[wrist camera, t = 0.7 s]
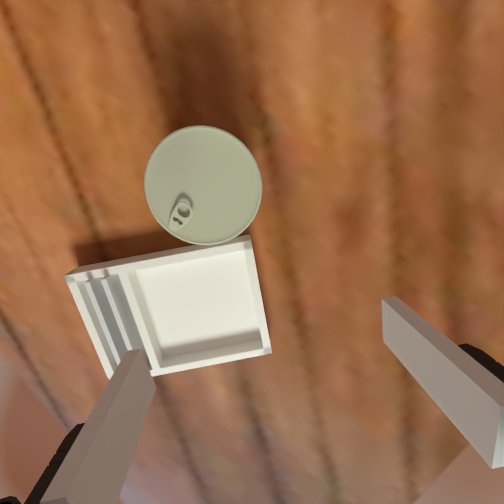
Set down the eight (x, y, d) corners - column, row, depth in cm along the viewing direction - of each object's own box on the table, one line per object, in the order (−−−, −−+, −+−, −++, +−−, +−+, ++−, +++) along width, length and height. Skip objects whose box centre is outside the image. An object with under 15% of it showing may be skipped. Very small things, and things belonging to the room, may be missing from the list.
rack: (78, 266, 33) (58, 279, 29) (249, 234, 34) (251, 242, 30) (119, 368, 38) (107, 390, 34) (269, 339, 38) (273, 358, 35)
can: (159, 186, 31) (115, 195, 20) (208, 122, 29) (191, 92, 18) (220, 235, 33) (212, 269, 22) (268, 178, 32) (288, 183, 20)
